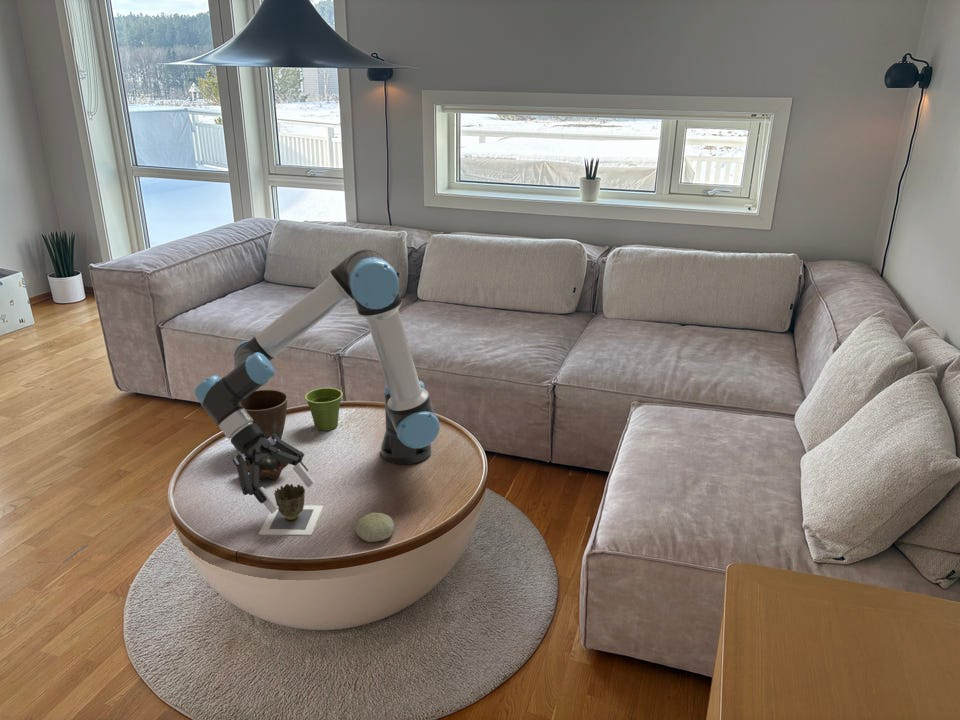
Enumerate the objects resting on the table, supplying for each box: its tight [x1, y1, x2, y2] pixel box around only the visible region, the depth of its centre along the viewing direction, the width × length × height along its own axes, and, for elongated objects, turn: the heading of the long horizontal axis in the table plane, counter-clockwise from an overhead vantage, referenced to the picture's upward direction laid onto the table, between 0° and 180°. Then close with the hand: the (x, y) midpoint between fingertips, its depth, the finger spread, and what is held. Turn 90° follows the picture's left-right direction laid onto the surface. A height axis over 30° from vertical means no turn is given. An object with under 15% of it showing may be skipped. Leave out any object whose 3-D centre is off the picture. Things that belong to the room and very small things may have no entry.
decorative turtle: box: [245, 458, 289, 482], centre depth 201 cm, size 10×15×8 cm, turn 103°
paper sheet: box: [258, 504, 324, 536], centre depth 181 cm, size 13×13×1 cm
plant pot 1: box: [240, 389, 288, 447], centre depth 215 cm, size 15×15×16 cm
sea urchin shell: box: [355, 512, 395, 543], centre depth 175 cm, size 9×8×8 cm
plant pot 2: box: [304, 387, 344, 432], centre depth 230 cm, size 12×12×11 cm
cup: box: [273, 483, 306, 521], centre depth 180 cm, size 8×7×8 cm
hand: (294, 497), depth 178 cm, fingers open, 13 cm apart
